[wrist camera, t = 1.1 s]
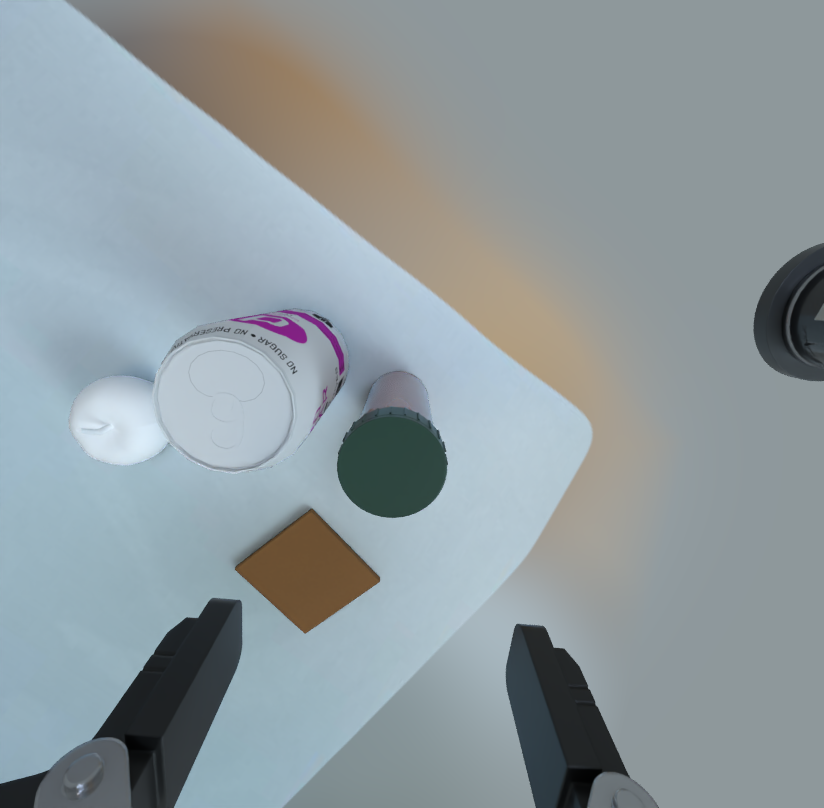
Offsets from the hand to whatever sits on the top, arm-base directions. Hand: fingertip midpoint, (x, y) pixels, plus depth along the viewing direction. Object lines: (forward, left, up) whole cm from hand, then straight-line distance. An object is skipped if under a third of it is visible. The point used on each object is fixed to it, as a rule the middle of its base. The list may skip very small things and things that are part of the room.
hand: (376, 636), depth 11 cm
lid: (0, 0, -11) cm, 11 cm away
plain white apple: (+17, -13, -25) cm, 33 cm away
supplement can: (+4, -8, -25) cm, 27 cm away
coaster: (+18, +8, -25) cm, 32 cm away
